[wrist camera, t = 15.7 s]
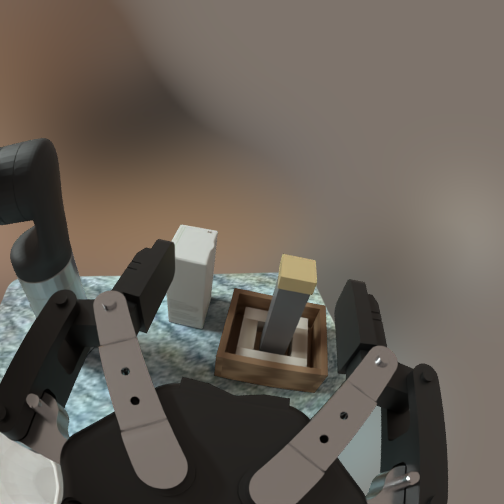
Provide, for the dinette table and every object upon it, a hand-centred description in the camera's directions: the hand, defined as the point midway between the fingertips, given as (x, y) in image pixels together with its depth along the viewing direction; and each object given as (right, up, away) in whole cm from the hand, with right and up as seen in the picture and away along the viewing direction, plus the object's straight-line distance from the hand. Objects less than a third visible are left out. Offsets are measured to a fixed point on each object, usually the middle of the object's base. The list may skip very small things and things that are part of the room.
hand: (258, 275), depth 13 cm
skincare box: (-11, -10, +38) cm, 41 cm away
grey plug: (+3, -15, +33) cm, 37 cm away
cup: (-27, -31, +7) cm, 41 cm away
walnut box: (+3, -16, +34) cm, 37 cm away
